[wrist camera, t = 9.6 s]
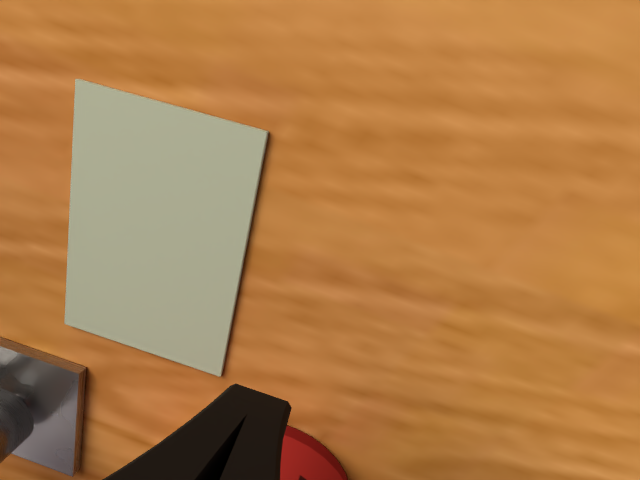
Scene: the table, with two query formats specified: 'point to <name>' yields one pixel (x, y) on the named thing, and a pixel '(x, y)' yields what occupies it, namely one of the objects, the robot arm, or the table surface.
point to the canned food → (307, 459)
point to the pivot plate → (47, 404)
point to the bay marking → (158, 223)
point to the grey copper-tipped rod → (13, 423)
